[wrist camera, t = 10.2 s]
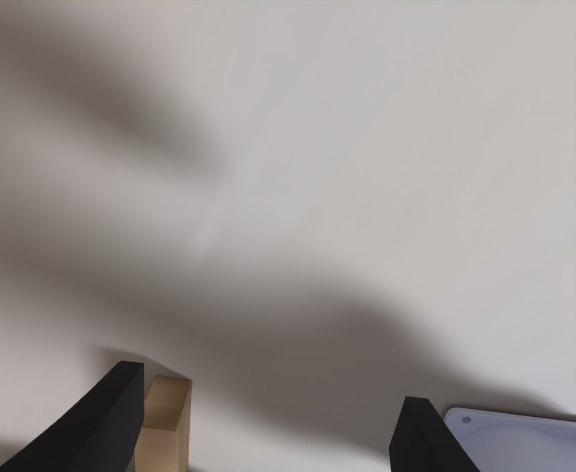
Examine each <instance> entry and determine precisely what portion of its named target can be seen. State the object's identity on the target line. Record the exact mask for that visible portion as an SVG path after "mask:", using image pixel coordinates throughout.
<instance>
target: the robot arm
mask: <svg viewBox="0 0 576 472" xmlns="http://www.w3.org/2000/svg"><path fill="white" fill-rule="evenodd" d="M464 417H466V418H464ZM143 421H144V363H137V362H129V361H120V362H119V363H117V364H116V365H115V366H114V367H113V368H112V369H111V370H110V371H109V372H108V373H107V374H106V375H105V376H104V377H103V378H102V379H101V380H100V381H99V382H98V383H97V384H96V385H95V386H94V387H93V388H92V389H91V390H90V391H89V392H88V393H87V394H86V395H85V396H83V397H82V398H81V399H80V400H79V401H78V402H77V403H76V404H75V405H74V406H73V407H71V408H70V409H69V410H68V411H67V412H66V413H65V414H64V415H63V416H62V417H60V418H59V419H58V420H57V421H56V422H55V423H54V424H52V425H51V426H50V427H49V428H48V429H46V430H45V431H44V432H43V433H42V434H40V435H39V436H38V437H37V438H36V439H34V440H33V441H32V442H31V443H30V444H28V445H27V446H26V447H25V448H23V449H22V450H21V451H19V452H18V453H17V454H16V455H14V456H13V457H12V458H10V459H9V460H8V461H6V462H5V463H4V464H2V465H1V466H0V472H125V471H126V469H127V466H128V464H129V462H130V460H131V457H132V455H133V452H134V449H135V446H136V443H137V440H138V437H139V434H140V431H141V427H142V424H143ZM389 454H390V464H391V472H576V422H570V421H562V420H554V419H546V418H538V417H530V416H522V415H514V414H506V413H498V412H490V411H482V410H474V409H466V408H458V407H457V408H451V409H450V410H448V411H447V413H446V415H445V418H444V420H442V418H441V417H440V415H439V414H438V412H437V411H436V410H435V408H434V407H433V405H432V404H431V403H430V401H429V400H428V399H425V398H417V397H409V396H406V397H405V401H404V404H403V407H402V410H401V413H400V416H399V419H398V422H397V425H396V428H395V431H394V434H393V437H392V440H391V443H390V446H389Z"/></svg>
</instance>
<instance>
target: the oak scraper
mask: <svg viewBox="0 0 576 472" xmlns="http://www.w3.org/2000/svg"><path fill="white" fill-rule="evenodd" d="M191 390H192V380H188V379H180V378H172V377H164V376H155V378H154V380H153V383H152V385H151V387H150V390H149V392H148V394H147V397H146V399H145V402H144V421H143V424H142V427H141V431H140V434H139V437H138V440H137V443H136V446H135V449H134V450H135V472H188V454H189V433H190V411H191Z"/></svg>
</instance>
